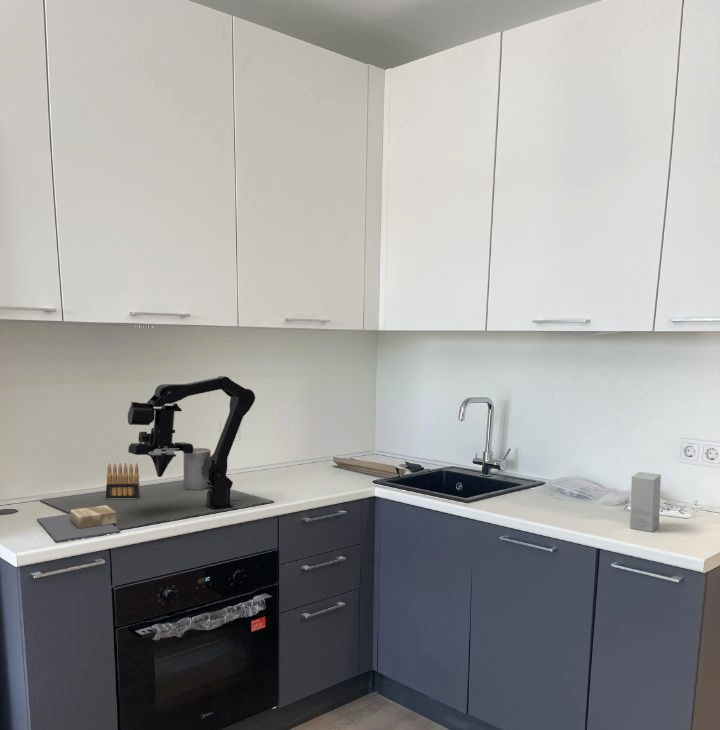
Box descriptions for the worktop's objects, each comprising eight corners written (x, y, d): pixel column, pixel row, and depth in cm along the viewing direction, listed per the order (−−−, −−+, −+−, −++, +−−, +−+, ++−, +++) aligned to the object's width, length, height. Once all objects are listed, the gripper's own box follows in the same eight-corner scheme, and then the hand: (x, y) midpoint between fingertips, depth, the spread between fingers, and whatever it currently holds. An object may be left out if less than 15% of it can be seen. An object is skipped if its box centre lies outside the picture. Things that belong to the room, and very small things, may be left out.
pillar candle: (203, 483, 235) (202, 443, 234) (215, 487, 227) (215, 446, 227) (178, 487, 228) (178, 446, 228) (191, 491, 221) (190, 449, 220)
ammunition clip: (105, 499, 208) (105, 463, 208) (107, 498, 210) (107, 462, 210) (138, 498, 209) (138, 463, 209) (139, 497, 211) (140, 462, 211)
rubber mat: (94, 512, 191) (94, 510, 191) (120, 532, 170) (120, 530, 170) (36, 520, 181) (36, 518, 181) (56, 543, 161) (56, 540, 161)
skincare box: (637, 522, 187) (638, 471, 187) (661, 527, 183) (662, 474, 183) (629, 528, 181) (630, 475, 180) (653, 533, 177) (654, 478, 176)
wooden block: (106, 505, 185) (70, 509, 179) (116, 512, 177) (78, 517, 171) (106, 515, 185) (70, 520, 179) (116, 523, 177) (78, 528, 171)
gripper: (178, 423, 202) (174, 471, 202) (122, 422, 189) (118, 474, 189) (196, 426, 194) (192, 476, 194) (138, 426, 181) (134, 480, 181)
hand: (159, 476), depth 190 cm, fingers closed
